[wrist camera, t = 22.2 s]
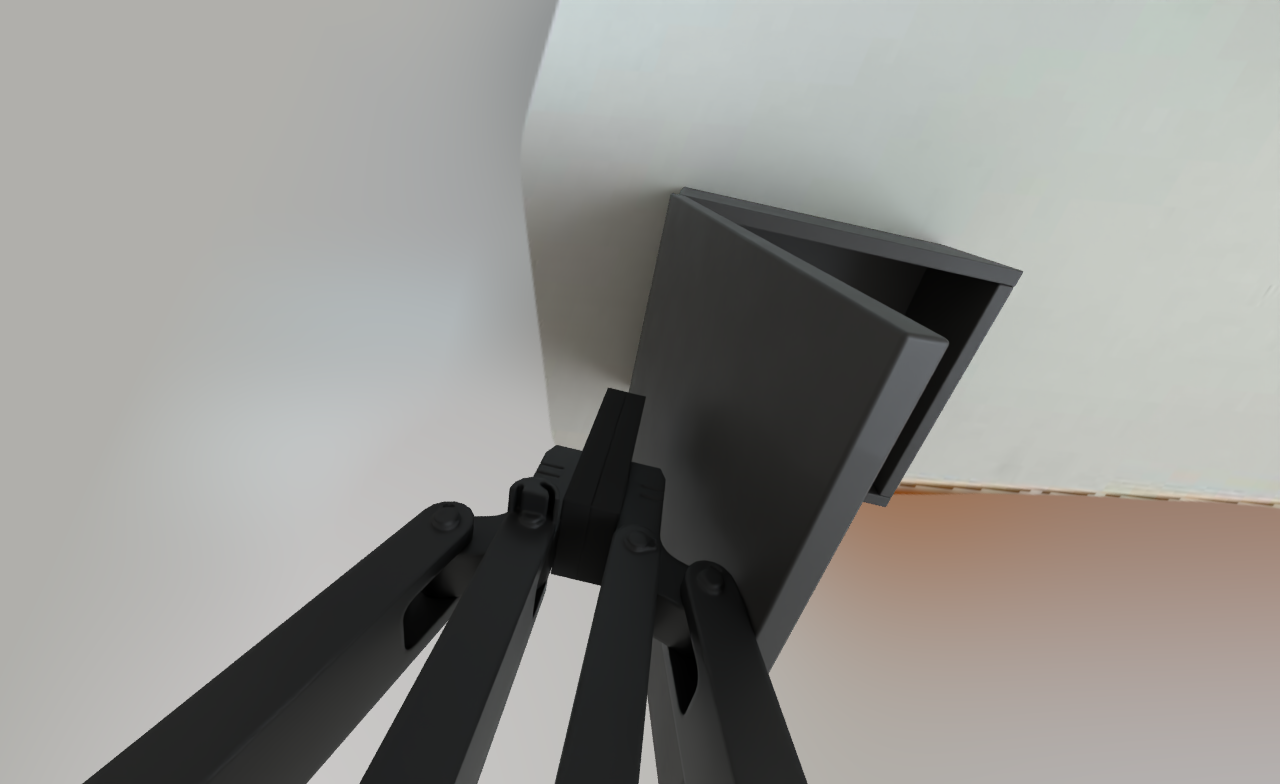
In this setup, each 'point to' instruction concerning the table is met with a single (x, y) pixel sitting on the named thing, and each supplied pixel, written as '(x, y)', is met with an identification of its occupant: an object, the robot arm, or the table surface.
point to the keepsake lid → (763, 418)
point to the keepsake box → (892, 297)
